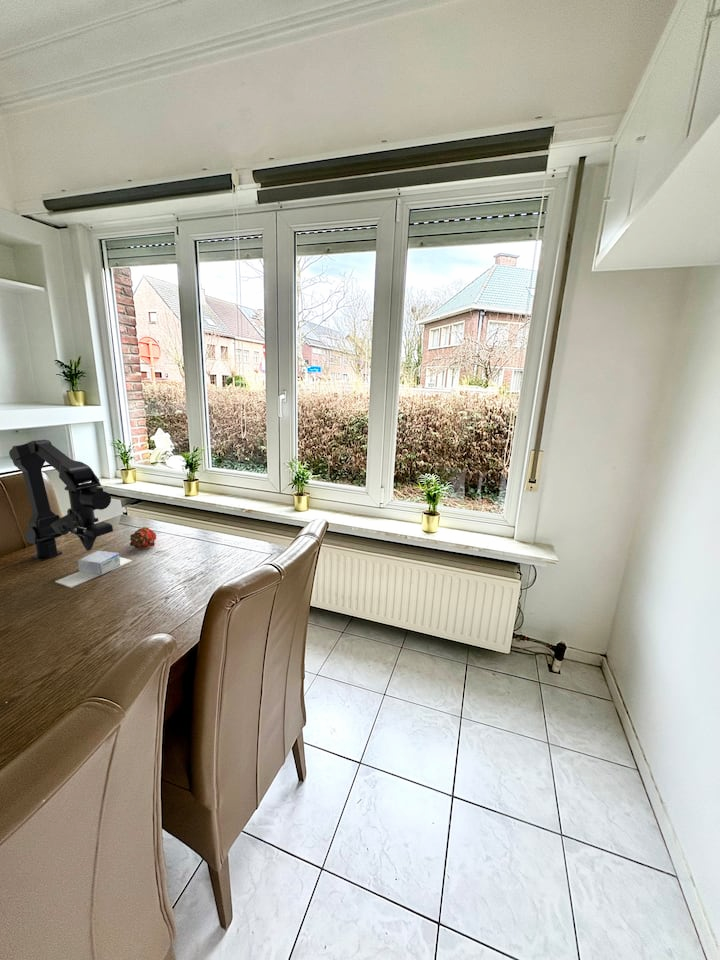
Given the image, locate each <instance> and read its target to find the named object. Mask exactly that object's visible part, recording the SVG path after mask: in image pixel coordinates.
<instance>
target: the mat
mask: <svg viewBox="0 0 720 960" xmlns="http://www.w3.org/2000/svg"><path fill="white" fill-rule="evenodd" d="M132 562H133V560H132V559H129V558H125V557H121V556H120V565H119V566H117V567H115V568H113V569H112V570H110V571H108V572H111V571H114V570H116V569H118V568H121V567H122V566H125V565H128V564H129V563H132ZM108 572H106V573H108ZM106 573H105V574H106ZM99 576H101V575H97V574H89V573H81V572H79V571H77V572H75V573H72V574H70V575H66V576H64V577H62V578H60V579H57V580H55V581H54V582H55V583H56V584H59V585H61V586H65V587H67V588H70V589H72V588H75V587H76V586H79V585H81V584H83V583H86V582H87V581H90V580H93V579H95V578H97V577H99Z"/></svg>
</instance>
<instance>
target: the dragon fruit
mask: <svg viewBox="0 0 720 960" xmlns="http://www.w3.org/2000/svg"><path fill="white" fill-rule="evenodd" d="M129 537H130V538H129V541H130V542H129V546H132V547H134V548H135V549H138V550H143V551H145V550H147V548H151V547H154V546H155V544H156V543H155V541H156V539H157V534H156V532H154V530H152V529H151V528H149V527H146V526H143V527H141V528H138V529H137V530H135V532H133V533H132V534H130V536H129Z"/></svg>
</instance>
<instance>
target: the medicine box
mask: <svg viewBox="0 0 720 960" xmlns="http://www.w3.org/2000/svg"><path fill="white" fill-rule="evenodd" d="M120 557H121V556H120V553H119V552H111V551H104V550H96V551H94V552H92V553H90V554H87V555H85V556H84V557H81V558H80V559H77V564H78V565H77V566H78V572H81V573H89V574H97V575H100V576H103V575H104V574H106V572H107V573H108V571H109V572H111V571H113V570H112V569H113V568H115V567H117V566H119V565H120ZM110 570H111V571H110Z"/></svg>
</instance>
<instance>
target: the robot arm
mask: <svg viewBox="0 0 720 960" xmlns="http://www.w3.org/2000/svg"><path fill="white" fill-rule="evenodd" d="M8 454H9V457H10V459H11V460H12V463H13V465H14V466H15V467H16V468H17V469H18V470H19V471H21V472H22V476H23V480H24V484H25V487H26V491H27V495H28V500H29V503H30V509H31V511H32V512H31V515H30V518H29V521H28V527H29V529H28V530H27V532H26V534H25V535H24V539H25V541H26V543H27V544H31V545H34V549H35V554H33V555H31V557H32V558H34V559H37V560H40V561H45V560H48V559H50V558H53V557H57V556H60V555H62V554H63V552H62V551H59V550H58V547H57V542H56V541H57V540H56V538H59V537H62V536H65V535H68V534H69V533H71V534H74V535H76V536H77V537H78V539H79V541H80V542H81V543H82V545H83V547H84V549H85V550H86V551H91V550H92V548H93V546H94V544H95V541H96V539H97V537H98V538H99V537H100V536H103V535H106V534H110V533H112V532H113V531H114V525H113V524H112V523H109V522H104V521H101V522H99V518H98V517H95V510H106V509H107V508H109V506H110V505H111V502H112V497H111V495H110V494H109V493H108V492H107V491H104V487H102V485H101V483H100V479H99V478H98V476H97V474H95V472H94V471H93V469H92V468H91V467H90V466H89V465H88V464H86V463H84V462H82V461H80V460H79V461H78V460H74V459H71V458H70V457H69V456H68V455H66V453H63V452H62V451H61V450H59V449H58V448H57V447H56V446H54V445H53V444H52V442H51V441H50V439H35V440H31V441H28V442H27V443H24V444H19V445H13V446H12V447H11V449H10V450H9V453H8ZM45 462H46V463H47V464H49V465H50V466H51V467H53V468H54V469H55V470H56V471H57V472H58V478H59V479H60V480H61V481H62V482H63V484H64V485H65V487H63V488H64V490H65V491H66V492H67V491H68V498H69V504H70V508H67V511H66V512H67V514H66V515H64V516H61V517H60V516H59V514H55V513H54V512H53V511H52V509H51V506H50V500H49V497H48V494H47V493H48V491H47V488H46V485H45V481H44V476H43V472H42V469H43V466H44V465H45V464H46V463H45Z"/></svg>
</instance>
